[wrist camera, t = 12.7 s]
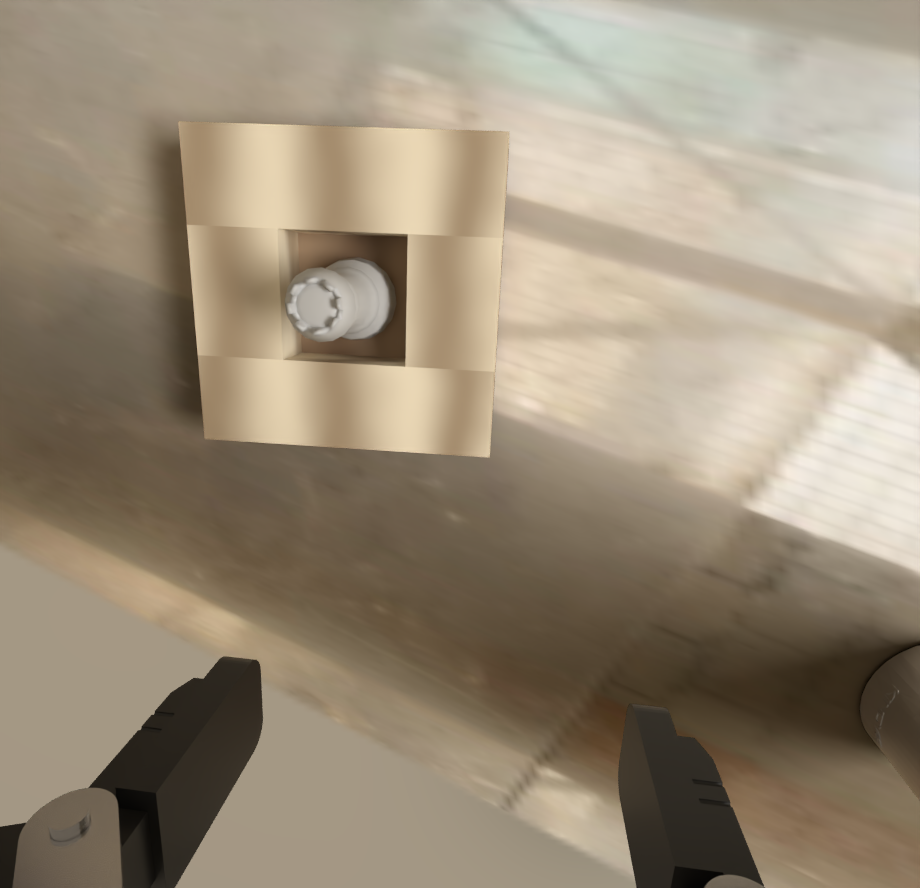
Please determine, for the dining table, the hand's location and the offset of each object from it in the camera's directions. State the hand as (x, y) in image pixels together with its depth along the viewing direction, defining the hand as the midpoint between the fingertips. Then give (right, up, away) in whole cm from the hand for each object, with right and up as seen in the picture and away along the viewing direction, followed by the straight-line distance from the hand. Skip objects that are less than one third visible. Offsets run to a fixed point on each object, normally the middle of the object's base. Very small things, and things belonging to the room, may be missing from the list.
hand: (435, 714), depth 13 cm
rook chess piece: (-5, +14, +21) cm, 25 cm away
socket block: (-5, +14, +21) cm, 26 cm away
